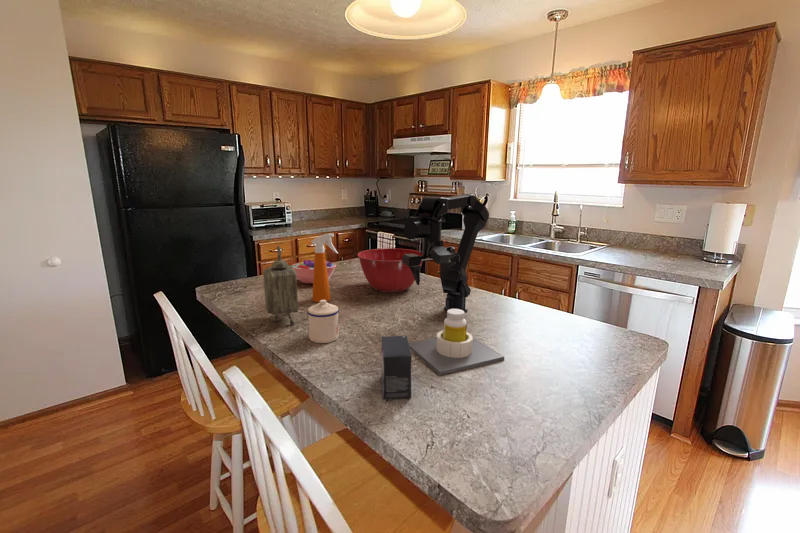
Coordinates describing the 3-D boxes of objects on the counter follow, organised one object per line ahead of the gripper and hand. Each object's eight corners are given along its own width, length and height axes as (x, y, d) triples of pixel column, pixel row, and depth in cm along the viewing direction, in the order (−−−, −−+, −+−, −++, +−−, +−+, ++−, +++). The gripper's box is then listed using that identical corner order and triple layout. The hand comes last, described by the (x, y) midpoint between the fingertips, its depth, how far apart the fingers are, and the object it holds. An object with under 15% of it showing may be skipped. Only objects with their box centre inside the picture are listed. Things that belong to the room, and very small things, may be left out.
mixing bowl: (350, 283, 173) (349, 249, 169) (407, 277, 184) (408, 245, 180) (370, 301, 147) (370, 262, 144) (435, 294, 158) (436, 257, 155)
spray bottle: (336, 304, 144) (334, 234, 138) (309, 302, 146) (306, 233, 140) (342, 298, 151) (340, 232, 145) (316, 296, 153) (313, 231, 147)
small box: (380, 375, 93) (380, 335, 90) (407, 374, 93) (407, 334, 91) (382, 400, 83) (382, 355, 80) (412, 399, 83) (413, 354, 81)
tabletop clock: (299, 326, 122) (295, 249, 117) (269, 330, 119) (263, 251, 113) (293, 311, 135) (289, 242, 130) (266, 314, 132) (261, 243, 126)
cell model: (294, 278, 180) (293, 254, 177) (337, 277, 182) (337, 254, 180) (288, 288, 164) (287, 262, 161) (335, 287, 166) (335, 262, 163)
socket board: (464, 335, 117) (465, 319, 116) (504, 359, 102) (505, 342, 100) (406, 346, 109) (407, 330, 108) (439, 375, 93) (440, 356, 92)
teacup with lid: (344, 339, 113) (343, 302, 110) (314, 346, 108) (313, 307, 105) (328, 326, 123) (327, 291, 120) (301, 332, 118) (299, 296, 115)
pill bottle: (469, 352, 103) (471, 314, 101) (448, 355, 101) (450, 316, 99) (459, 343, 109) (461, 306, 106) (439, 345, 107) (440, 308, 105)
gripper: (418, 242, 111) (416, 293, 115) (470, 238, 119) (468, 286, 123) (401, 236, 121) (400, 284, 125) (451, 233, 129) (449, 278, 132)
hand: (430, 283), depth 126 cm, fingers open, 9 cm apart
